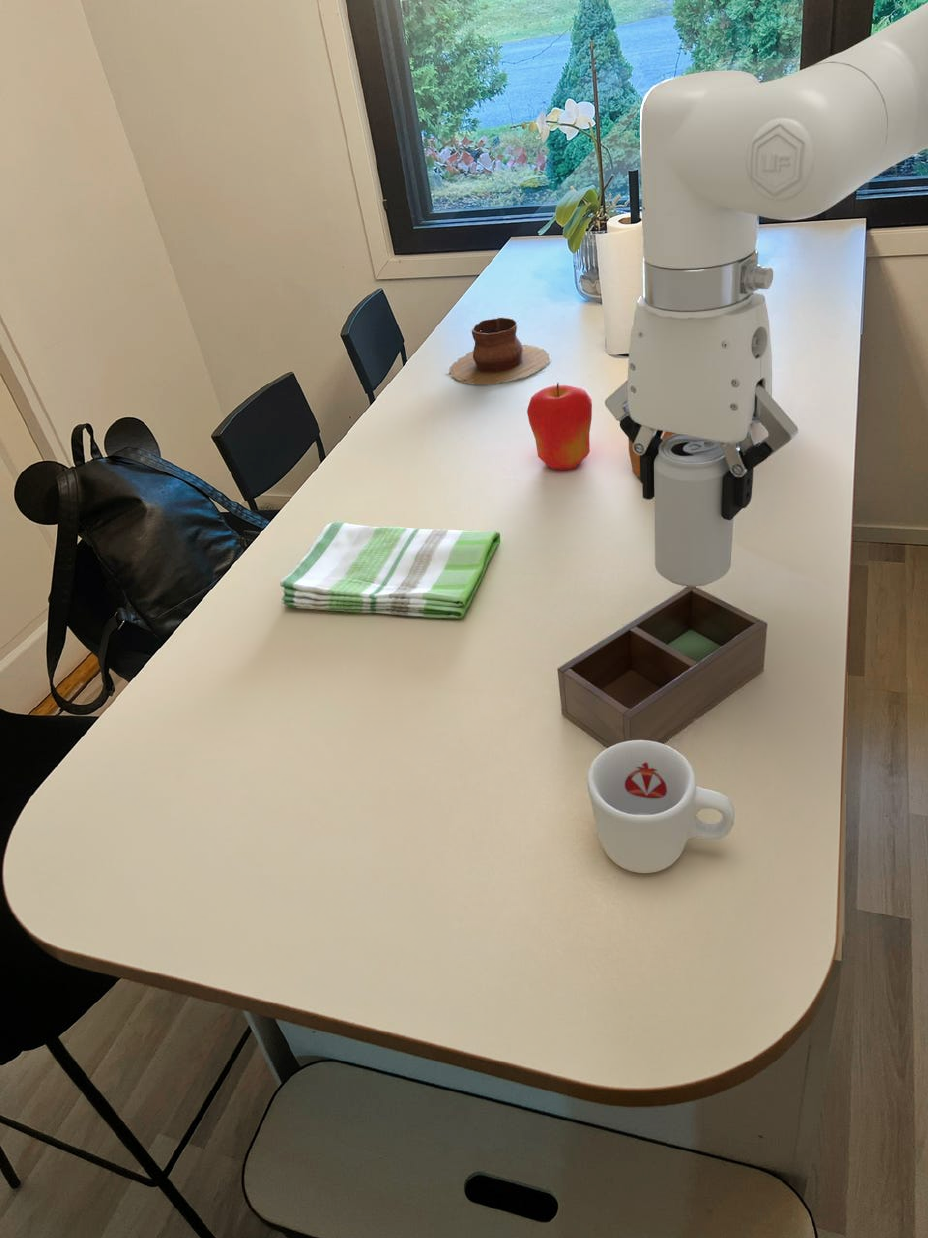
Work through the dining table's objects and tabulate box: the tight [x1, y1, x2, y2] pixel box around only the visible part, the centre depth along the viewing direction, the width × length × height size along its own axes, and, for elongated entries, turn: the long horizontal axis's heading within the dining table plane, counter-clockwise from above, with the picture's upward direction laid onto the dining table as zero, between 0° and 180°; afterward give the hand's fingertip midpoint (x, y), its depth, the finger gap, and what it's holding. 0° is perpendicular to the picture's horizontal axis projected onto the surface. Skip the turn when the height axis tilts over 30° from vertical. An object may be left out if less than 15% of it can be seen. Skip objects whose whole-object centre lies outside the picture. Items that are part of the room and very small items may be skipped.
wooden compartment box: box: [556, 586, 768, 749], centre depth 81 cm, size 9×18×6 cm, turn 127°
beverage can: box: [653, 434, 734, 588], centre depth 72 cm, size 6×6×12 cm
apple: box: [526, 382, 593, 471], centre depth 118 cm, size 9×8×12 cm
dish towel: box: [279, 521, 501, 619], centre depth 105 cm, size 17×23×4 cm
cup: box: [586, 740, 735, 874], centre depth 67 cm, size 11×8×8 cm
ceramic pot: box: [448, 317, 551, 386], centre depth 152 cm, size 18×18×7 cm
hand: (693, 500), depth 72 cm, fingers closed on beverage can, 6 cm apart
